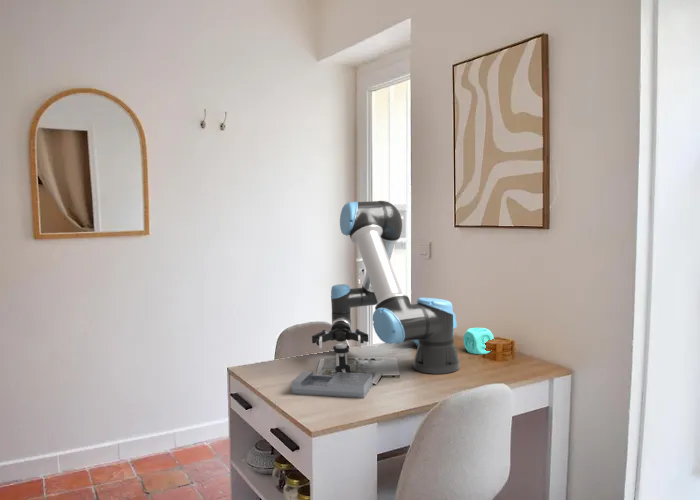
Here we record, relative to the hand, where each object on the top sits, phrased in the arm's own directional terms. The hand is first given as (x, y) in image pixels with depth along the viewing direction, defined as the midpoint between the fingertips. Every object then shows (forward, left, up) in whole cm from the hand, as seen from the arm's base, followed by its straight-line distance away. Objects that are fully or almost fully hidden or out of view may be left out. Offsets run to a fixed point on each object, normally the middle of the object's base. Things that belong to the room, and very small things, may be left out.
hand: (339, 344), depth 192 cm
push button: (-3, +10, -8) cm, 13 cm away
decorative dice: (-46, -24, -8) cm, 52 cm away
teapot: (-29, -29, -8) cm, 42 cm away
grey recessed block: (-5, +25, -7) cm, 26 cm away
